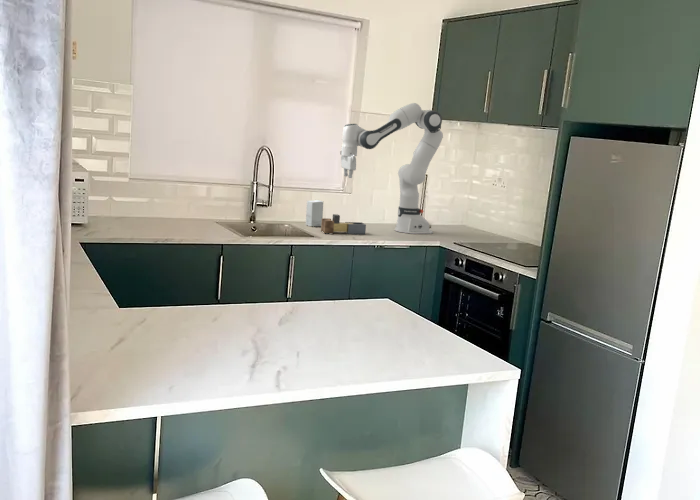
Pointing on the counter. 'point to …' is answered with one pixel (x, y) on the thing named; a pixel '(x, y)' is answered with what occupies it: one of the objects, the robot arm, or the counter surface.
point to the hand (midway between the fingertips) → (347, 177)
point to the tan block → (339, 224)
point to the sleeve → (356, 228)
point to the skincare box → (314, 213)
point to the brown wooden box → (327, 225)
